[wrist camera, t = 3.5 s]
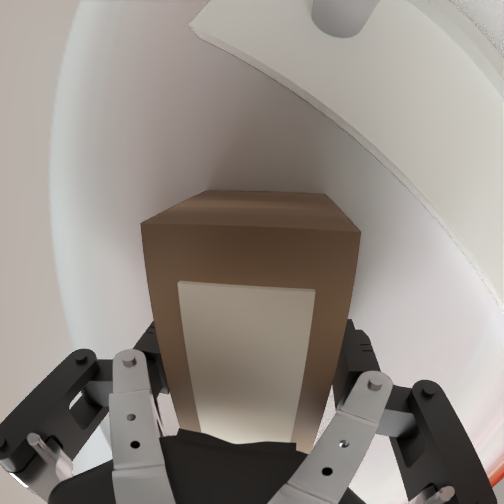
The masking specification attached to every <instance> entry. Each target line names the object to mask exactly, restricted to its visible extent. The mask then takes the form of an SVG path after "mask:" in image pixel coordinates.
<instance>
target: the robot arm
mask: <svg viewBox="0 0 504 504" xmlns="http://www.w3.org/2000/svg"><path fill="white" fill-rule="evenodd" d="M332 385H333V393H334V401H335V409H336V411H337V413H336V414H335V416H334V417H333V419H332V420H331V422H330V424H329V425H328V427H327V428H326V430H325V431H324V433H323V434H322V436H321V437H320V439H319V440H318V442H317V443H316V445H315V446H314V447H313V449H312V450H311V452H310V453H309V454H307V453H304V452H301V451H297V450H296V443H293V442H273V441H264V442H255V443H244V444H233V443H230V442H227V441H225V440H222V439H219V438H217V437H214V436H211V435H209V434H206V433H201V432H195V431H190V430H185V429H181V428H179V430H178V433H177V435H176V436H174V435H173V436H166V433H165V430H164V425H163V421H162V417H161V413H160V408H159V403H158V400H157V397H158V395H159V393H164V394H169V392H170V390H169V386H168V382H167V378H166V374H165V370H164V366H163V362H162V357H161V353H160V348H159V343H158V339H157V334H156V329H155V324H154V321H153V322H152V323H151V325H150V326H149V327H148V329H147V330H146V332H145V333H144V334H143V335H142V337H141V338H140V339H139V341H138V342H137V343H136V345H135V346H134V348H133V349H128V350H124V351H121V352H119V353H118V354H116V356H115V357H114V359H112V360H101V359H97V357H96V355H95V353H94V352H93V351H92V350H89V349H79V350H76V351H74V352H72V353H71V354H70V355H69V356H68V357H67V358H66V359H65V360H63V362H61V364H59V365H58V366H57V367H56V368H55V369H54V370H53V371H52V372H51V373H50V374H49V375H48V376H47V377H46V378H45V379H44V380H43V381H42V382H41V383H40V384H39V385H38V386H37V387H36V388H35V389H34V390H33V391H32V392H31V393H30V394H29V395H28V396H27V397H26V398H25V399H24V400H23V401H22V402H21V403H20V404H19V405H18V406H17V407H16V408H15V409H14V410H13V411H12V412H11V413H10V414H9V415H8V416H7V417H6V418H5V420H4V421H3V422H2V423H1V424H0V465H1V466H2V467H3V469H5V471H7V472H8V473H9V474H10V475H11V476H12V477H13V478H14V479H15V480H17V481H18V482H19V483H20V484H21V485H23V486H25V487H26V488H27V489H28V490H30V491H31V492H32V493H34V494H36V495H38V496H40V497H41V498H42V499H44V500H45V501H46V502H47V503H48V504H366V503H365V502H364V501H363V500H362V499H361V498H359V497H358V496H357V495H356V494H355V493H354V492H353V491H352V490H351V489H350V488H349V487H348V486H349V484H350V482H351V480H352V479H353V477H354V475H355V473H356V471H357V469H358V468H359V466H360V464H361V462H362V460H363V458H364V456H365V454H366V452H367V450H368V448H369V446H370V444H371V441H372V439H373V437H374V435H375V434H379V435H385V436H389V439H390V442H391V445H392V448H393V451H394V454H395V457H396V460H397V463H398V466H399V470H400V473H401V476H402V480H403V483H404V487H405V490H406V494H407V497H408V501H409V502H408V503H407V504H497V499H496V497H495V494H494V492H493V489H492V487H491V484H490V482H489V479H488V477H487V475H486V473H485V470H484V468H483V466H482V464H481V462H480V459H479V457H478V455H477V453H476V451H475V449H474V447H473V445H472V443H471V441H470V439H469V437H468V435H467V433H466V431H465V429H464V427H463V425H462V424H461V422H460V420H459V418H458V416H457V414H456V413H455V411H454V409H453V407H452V405H451V404H450V402H449V400H448V398H447V397H446V395H445V393H444V391H443V390H442V388H441V387H440V386H439V385H438V384H437V383H435V382H433V381H430V380H420V381H418V382H416V383H415V384H414V385H413V387H412V388H406V387H400V386H396V385H393V383H392V380H391V379H390V377H388V376H387V375H386V374H384V373H382V372H381V370H380V368H379V365H378V362H377V359H376V356H375V353H374V352H373V348H372V345H371V342H370V339H369V337H368V336H367V335H366V334H365V333H364V332H363V331H362V330H355V328H354V324H353V321H352V319H347V323H346V328H345V332H344V337H343V341H342V346H341V350H340V354H339V359H338V363H337V367H336V371H335V374H334V378H333V382H332ZM80 391H81V393H82V396H81V397H80V398H79V399H78V401H77V402H76V403H75V404H74V405H73V406H72V407H71V409H70V410H69V405H70V403H71V401H72V400H73V399H74V398H75V396H76V395H77V394H78V393H79V392H80ZM108 412H109V417H110V433H111V445H112V455H113V459H112V460H110V461H108V462H105V463H103V464H101V465H99V466H97V467H95V468H92V469H90V470H87V471H85V472H83V473H80V474H78V475H76V476H73V474H72V470H73V464H72V461H73V459H74V458H75V457H76V455H77V454H78V453H79V451H80V450H81V448H82V447H83V446H84V444H85V443H86V442H87V440H88V439H89V437H90V436H91V434H92V433H93V432H94V431H95V429H96V428H97V427H98V425H99V424H100V423H101V421H102V420H103V419H104V417H105V416H106V414H107V413H108Z"/></svg>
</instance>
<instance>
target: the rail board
mask: <svg viewBox="0 0 504 504" xmlns="http://www.w3.org/2000/svg"><path fill="white" fill-rule="evenodd" d="M189 27H190V28H191V29H192V30H193V31H194V32H195V34H196V35H197V36H198V37H199V38H201V39H203V40H205V41H207V42H209V43H211V44H213V45H215V46H217V47H219V48H221V49H223V50H225V51H227V52H228V53H230V54H232V55H234V56H236V57H238V58H239V59H241V60H243V61H245V62H247V63H248V64H250V65H252V66H253V67H255V68H257V69H258V70H260V71H262V72H263V73H265V74H267V75H268V76H270V77H271V78H273V79H275V80H276V81H278V82H279V83H281V84H282V85H284V86H285V87H287V88H288V89H290V90H291V91H293V92H294V93H296V94H297V95H299V96H300V97H301V98H303V99H304V100H306V101H307V102H308V103H310V104H311V105H313V106H314V107H315V108H317V109H318V110H319V111H321V112H322V113H323V114H325V115H326V116H327V117H329V118H330V119H331V120H332V121H334V122H335V123H336V124H337V125H339V126H340V127H341V128H342V129H344V130H345V131H346V132H347V133H349V134H350V135H351V136H352V137H353V138H355V139H356V140H357V141H358V142H359V143H360V144H362V145H363V146H364V147H365V148H366V149H367V150H368V151H369V152H371V153H372V154H373V155H374V156H375V157H376V158H377V159H378V160H379V161H380V162H381V163H383V164H384V165H385V166H386V167H387V168H388V169H389V170H390V171H391V172H392V173H393V174H394V175H395V176H396V177H397V178H398V179H399V180H400V181H401V182H402V183H403V184H404V185H405V186H406V187H407V188H408V189H409V190H410V191H411V192H412V193H413V194H414V195H415V196H416V197H417V199H418V200H419V201H420V202H421V203H422V204H423V205H424V206H425V207H426V208H427V209H428V211H429V212H430V213H431V214H432V215H433V216H434V217H435V219H436V220H437V221H438V222H439V223H440V224H441V226H442V227H443V228H444V229H445V230H446V232H447V233H448V234H449V235H450V237H451V238H452V239H453V240H454V242H455V243H456V244H457V245H458V247H459V248H460V249H461V251H462V252H463V253H464V255H465V256H466V257H467V259H468V260H469V261H470V263H471V264H472V266H473V267H474V268H475V270H476V271H477V273H478V274H479V276H480V277H481V278H482V280H483V281H484V283H485V284H486V286H487V288H488V289H489V291H490V292H491V294H492V295H493V297H494V298H495V300H496V302H497V303H498V305H499V307H500V308H501V310H502V312H503V313H504V57H503V56H502V55H501V53H500V52H499V51H498V50H497V48H496V47H495V46H494V45H493V44H492V43H491V41H490V40H489V39H488V38H487V37H486V36H485V35H484V33H483V32H482V31H481V30H480V29H479V28H478V27H477V26H476V25H475V24H474V23H473V22H472V21H471V20H470V19H469V18H468V17H467V16H466V15H465V14H464V13H463V12H462V11H461V10H460V9H459V8H458V7H457V6H456V5H455V4H453V3H452V2H451V1H450V0H210V1H209V2H208V4H207V5H206V6H205V7H204V8H203V9H202V10H201V11H200V12H199V13H198V14H197V16H196V17H195V18H194V19H193V20H192V21H191V22H190V24H189Z"/></svg>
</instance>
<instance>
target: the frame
mask: <svg viewBox="0 0 504 504" xmlns="http://www.w3.org/2000/svg"><path fill="white" fill-rule="evenodd" d="M141 233H142V243H143V252H144V260H145V268H146V275H147V282H148V289H149V295H150V301H151V307H152V313H153V318H154V324H155V329H156V334H157V339H158V343H159V348H160V353H161V357H162V362H163V366H164V370H165V374H166V378H167V382H168V386H169V390H170V394H171V397H172V401H173V405H174V408H175V412H176V415H177V419H178V422H179V425H180V428H181V429H185V430H190V431H195V432H201V433H206V434H209V435H211V436H214V437H217V438H219V439H222V440H225V441H227V442H230V443H233V444H244V443H255V442H264V441H273V442H293V443H296V450H297V451H301V452H304V453H307V454H309V453H310V452H311V450H312V447H313V444H314V441H315V438H316V435H317V432H318V429H319V426H320V423H321V420H322V417H323V413H324V410H325V407H326V403H327V400H328V396H329V393H330V389H331V386H332V382H333V378H334V374H335V371H336V367H337V363H338V359H339V354H340V350H341V346H342V341H343V337H344V332H345V328H346V323H347V318H348V313H349V308H350V302H351V297H352V291H353V285H354V279H355V273H356V266H357V259H358V252H359V244H360V236H361V231H360V230H359V229H358V228H357V227H356V226H355V225H354V224H353V223H352V221H351V220H350V219H349V218H348V217H347V216H346V215H345V214H344V213H343V212H342V211H341V210H340V209H339V208H338V207H337V205H336V204H335V203H334V202H333V201H332V200H331V199H330V198H329V197H328V196H327V195H326V194H311V193H292V192H267V191H204V192H202V193H200V194H198V195H196V196H194V197H192V198H190V199H187V200H185V201H183V202H181V203H179V204H177V205H175V206H173V207H171V208H169V209H167V210H165V211H163V212H161V213H159V214H158V215H156V216H154V217H152V218H150V219H148V220H146V221H144V222H142V223H141Z"/></svg>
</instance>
